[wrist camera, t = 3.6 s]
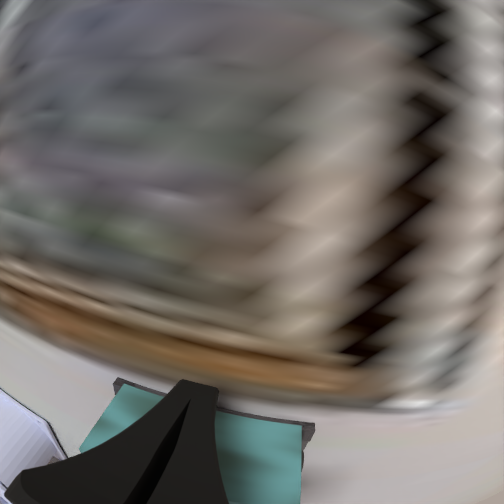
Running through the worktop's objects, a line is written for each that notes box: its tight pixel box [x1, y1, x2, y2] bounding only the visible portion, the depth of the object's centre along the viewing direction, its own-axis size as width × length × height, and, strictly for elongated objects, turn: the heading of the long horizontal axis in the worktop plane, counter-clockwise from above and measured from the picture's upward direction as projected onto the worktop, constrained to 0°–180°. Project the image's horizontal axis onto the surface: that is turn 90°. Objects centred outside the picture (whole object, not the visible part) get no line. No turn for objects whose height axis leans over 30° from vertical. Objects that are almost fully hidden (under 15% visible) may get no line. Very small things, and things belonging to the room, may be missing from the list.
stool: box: [79, 384, 304, 504], centre depth 12 cm, size 11×13×5 cm
